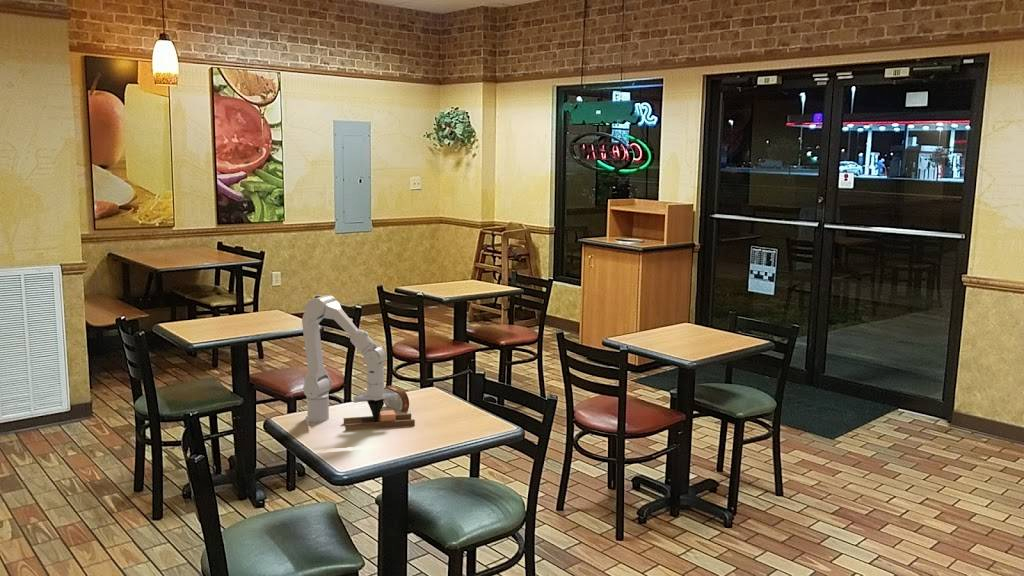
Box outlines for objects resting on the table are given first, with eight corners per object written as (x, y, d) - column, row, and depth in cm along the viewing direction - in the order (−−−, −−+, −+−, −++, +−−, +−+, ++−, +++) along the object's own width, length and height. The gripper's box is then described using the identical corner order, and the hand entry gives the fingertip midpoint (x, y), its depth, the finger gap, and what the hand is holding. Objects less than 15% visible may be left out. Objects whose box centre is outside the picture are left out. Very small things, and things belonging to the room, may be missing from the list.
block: (378, 422, 279) (378, 411, 279) (393, 421, 281) (393, 410, 280) (380, 426, 274) (380, 415, 274) (395, 425, 276) (395, 414, 275)
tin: (410, 414, 293) (410, 391, 292) (402, 415, 291) (402, 392, 290) (388, 404, 305) (388, 382, 303) (381, 406, 303) (381, 384, 301)
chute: (343, 426, 277) (343, 418, 277) (410, 421, 284) (410, 413, 284) (345, 433, 270) (345, 425, 269) (414, 428, 276) (414, 420, 276)
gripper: (354, 386, 268) (355, 426, 270) (398, 384, 273) (398, 423, 274) (352, 381, 275) (353, 420, 277) (395, 379, 279) (395, 417, 281)
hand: (375, 421), depth 276 cm, fingers closed
